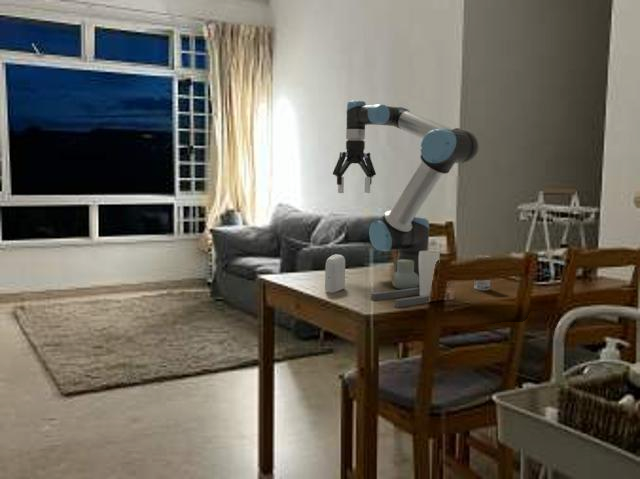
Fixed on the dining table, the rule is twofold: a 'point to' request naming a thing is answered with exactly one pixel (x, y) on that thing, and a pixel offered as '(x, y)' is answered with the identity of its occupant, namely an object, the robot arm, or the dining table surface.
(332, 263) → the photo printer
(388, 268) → the dining table surface
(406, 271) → the air freshener
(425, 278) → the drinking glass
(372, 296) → the guide channel
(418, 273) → the robot arm
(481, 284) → the energy drink
